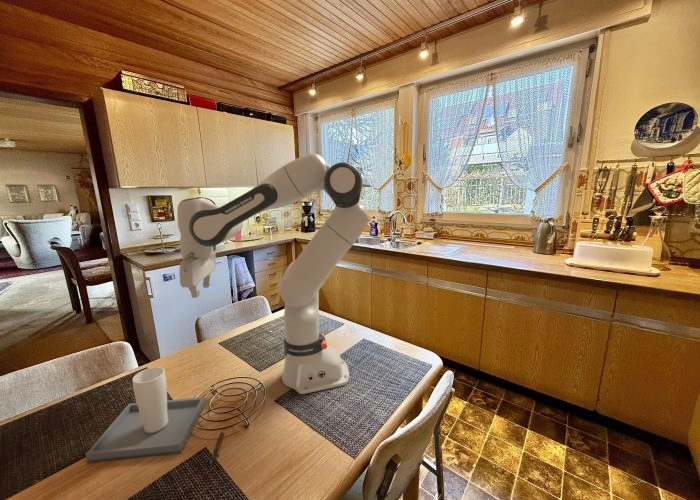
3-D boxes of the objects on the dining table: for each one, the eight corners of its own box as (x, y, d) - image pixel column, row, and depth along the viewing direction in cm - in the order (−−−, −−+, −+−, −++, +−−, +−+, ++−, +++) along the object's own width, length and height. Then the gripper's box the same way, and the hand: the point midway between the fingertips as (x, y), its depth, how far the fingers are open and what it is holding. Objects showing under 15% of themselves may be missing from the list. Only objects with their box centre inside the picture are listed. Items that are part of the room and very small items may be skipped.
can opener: (220, 435, 73) (220, 431, 73) (229, 435, 73) (229, 431, 73) (203, 469, 64) (202, 465, 64) (213, 469, 64) (213, 464, 64)
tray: (205, 404, 83) (204, 397, 82) (181, 453, 67) (179, 444, 67) (130, 411, 80) (129, 403, 80) (87, 463, 65) (85, 454, 64)
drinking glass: (155, 439, 70) (147, 385, 67) (133, 434, 72) (124, 381, 69) (177, 418, 77) (171, 368, 74) (157, 414, 78) (149, 364, 75)
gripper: (194, 256, 80) (199, 303, 83) (217, 244, 100) (221, 282, 102) (170, 257, 79) (176, 304, 82) (198, 244, 99) (202, 282, 102)
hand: (201, 291), depth 92 cm, fingers open, 8 cm apart
